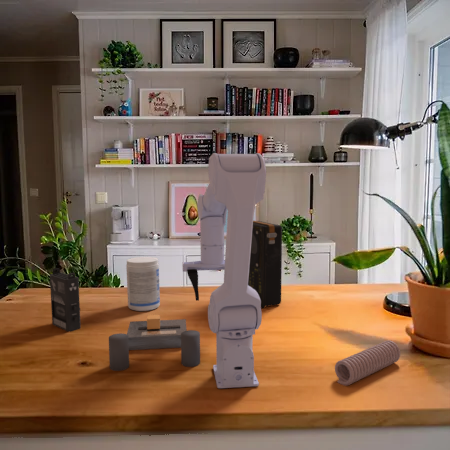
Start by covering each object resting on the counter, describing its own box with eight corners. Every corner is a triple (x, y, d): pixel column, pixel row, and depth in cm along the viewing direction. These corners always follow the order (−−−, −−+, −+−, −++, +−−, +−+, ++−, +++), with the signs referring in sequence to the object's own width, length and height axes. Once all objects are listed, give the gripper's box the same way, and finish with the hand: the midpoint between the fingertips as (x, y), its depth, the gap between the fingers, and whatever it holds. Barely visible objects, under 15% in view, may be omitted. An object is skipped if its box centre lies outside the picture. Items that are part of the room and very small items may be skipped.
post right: (200, 366, 94) (200, 336, 93) (181, 367, 93) (181, 337, 92) (199, 358, 97) (199, 329, 97) (181, 359, 97) (180, 330, 96)
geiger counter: (86, 328, 117) (84, 272, 115) (70, 332, 113) (67, 275, 111) (66, 319, 123) (63, 266, 122) (50, 323, 120) (47, 269, 118)
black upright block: (236, 296, 146) (236, 220, 143) (259, 292, 149) (259, 219, 146) (260, 309, 132) (260, 225, 128) (284, 305, 135) (285, 224, 132)
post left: (128, 370, 92) (127, 340, 91) (108, 371, 91) (107, 341, 91) (130, 362, 96) (129, 333, 95) (111, 363, 95) (110, 333, 95)
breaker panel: (187, 347, 104) (187, 333, 103) (126, 350, 102) (125, 336, 102) (185, 330, 114) (185, 318, 114) (130, 332, 113) (130, 320, 112)
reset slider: (159, 328, 106) (159, 318, 106) (147, 329, 106) (146, 319, 106) (160, 324, 109) (160, 314, 109) (147, 325, 109) (147, 315, 109)
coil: (382, 337, 98) (330, 359, 87) (402, 341, 94) (350, 364, 83) (383, 358, 98) (332, 382, 87) (403, 363, 94) (352, 389, 83)
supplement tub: (165, 308, 133) (164, 260, 131) (136, 314, 128) (134, 264, 126) (150, 300, 141) (149, 255, 139) (122, 306, 135) (121, 258, 134)
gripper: (239, 241, 112) (239, 293, 114) (181, 242, 111) (182, 295, 112) (243, 245, 106) (243, 301, 107) (182, 247, 104) (183, 303, 105)
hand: (212, 298), depth 109 cm, fingers open, 7 cm apart
